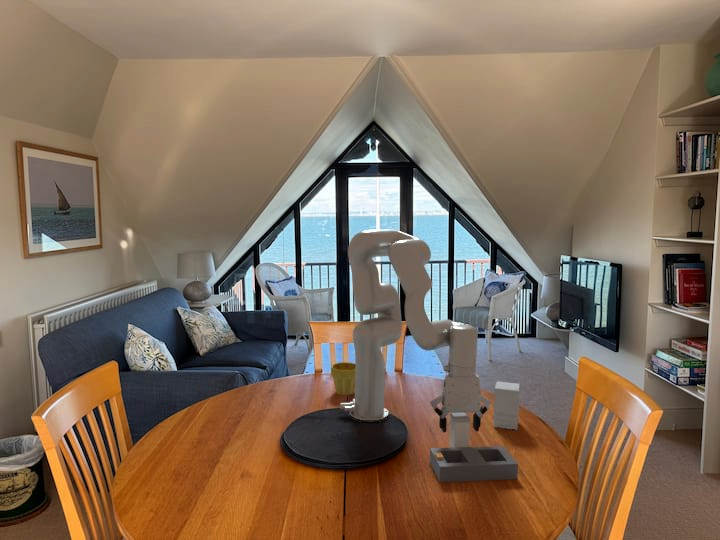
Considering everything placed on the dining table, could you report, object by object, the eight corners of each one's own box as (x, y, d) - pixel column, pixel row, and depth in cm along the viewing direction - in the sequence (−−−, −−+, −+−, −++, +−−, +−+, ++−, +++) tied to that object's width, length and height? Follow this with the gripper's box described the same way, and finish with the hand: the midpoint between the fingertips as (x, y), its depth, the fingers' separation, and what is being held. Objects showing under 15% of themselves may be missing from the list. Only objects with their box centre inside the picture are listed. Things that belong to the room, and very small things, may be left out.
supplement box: (518, 421, 169) (520, 383, 167) (517, 430, 162) (519, 390, 160) (494, 418, 171) (496, 380, 170) (492, 427, 164) (494, 387, 163)
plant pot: (359, 397, 188) (359, 370, 186) (329, 396, 188) (330, 370, 187) (359, 387, 198) (360, 362, 197) (331, 387, 198) (332, 361, 197)
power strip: (439, 482, 131) (440, 464, 130) (429, 462, 141) (430, 446, 140) (517, 479, 133) (518, 461, 132) (502, 460, 143) (503, 443, 142)
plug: (454, 454, 146) (455, 419, 145) (449, 445, 151) (450, 412, 150) (468, 453, 146) (469, 418, 145) (462, 445, 151) (464, 411, 150)
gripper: (434, 374, 141) (432, 436, 143) (497, 373, 143) (494, 434, 145) (427, 366, 149) (426, 425, 151) (487, 365, 150) (485, 423, 153)
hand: (459, 429), depth 148 cm, fingers open, 8 cm apart
